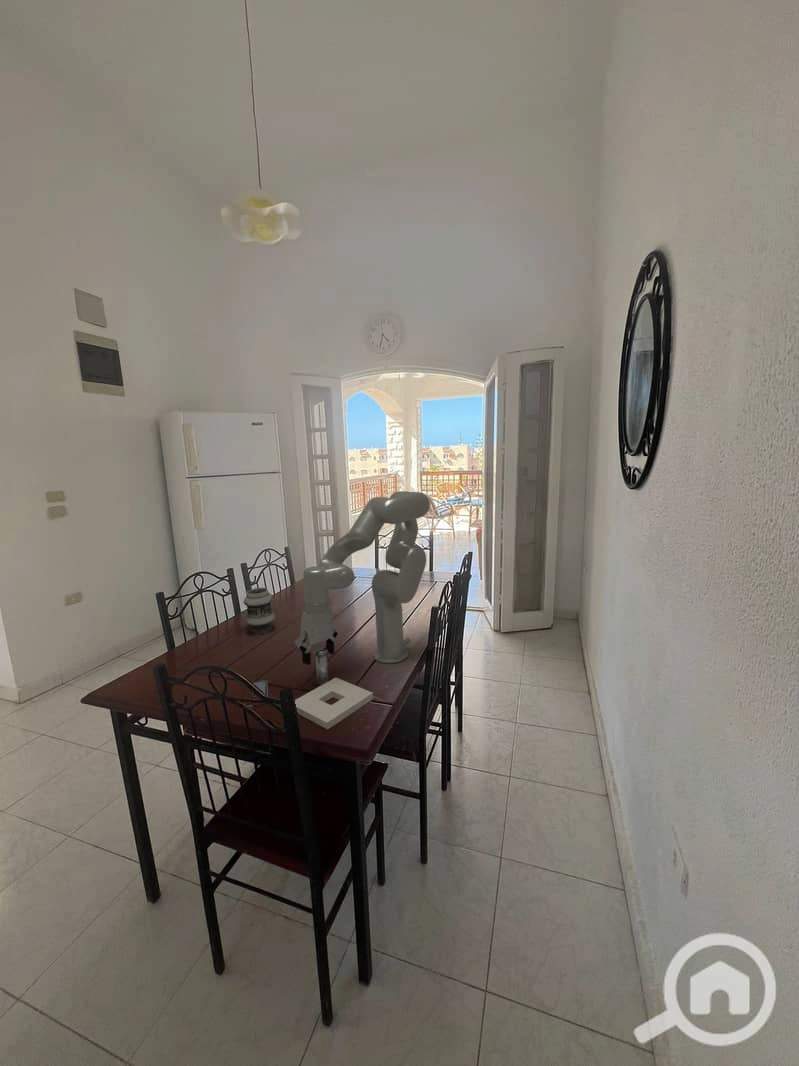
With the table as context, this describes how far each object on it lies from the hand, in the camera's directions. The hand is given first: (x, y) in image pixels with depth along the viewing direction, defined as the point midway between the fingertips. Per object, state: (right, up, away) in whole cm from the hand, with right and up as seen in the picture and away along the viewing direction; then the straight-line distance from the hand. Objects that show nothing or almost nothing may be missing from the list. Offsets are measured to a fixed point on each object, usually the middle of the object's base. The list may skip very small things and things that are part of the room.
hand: (318, 658), depth 136 cm
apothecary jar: (-33, -2, +47) cm, 57 cm away
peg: (+1, -8, +2) cm, 9 cm away
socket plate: (+6, -10, -11) cm, 16 cm away
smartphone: (-19, -11, -4) cm, 22 cm away
